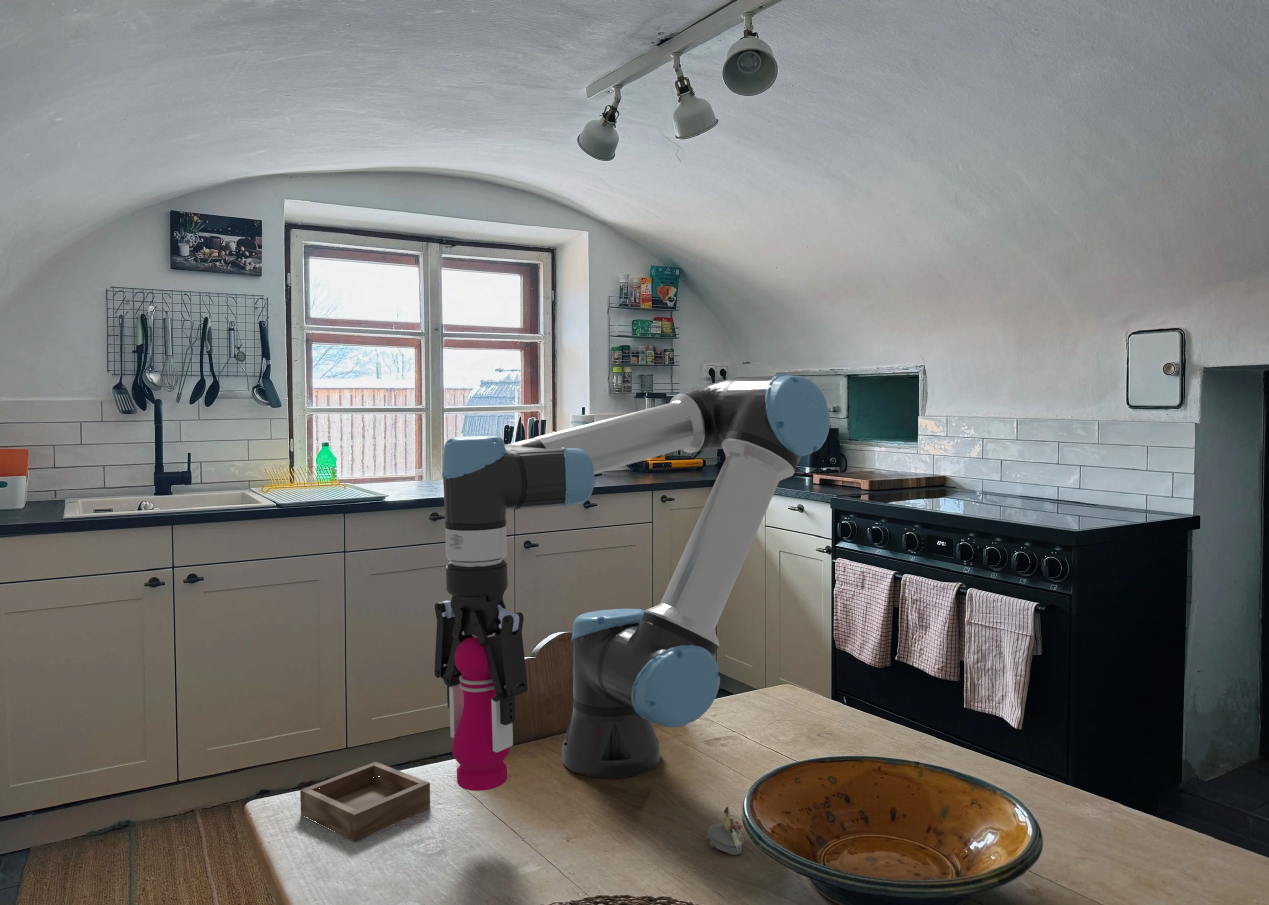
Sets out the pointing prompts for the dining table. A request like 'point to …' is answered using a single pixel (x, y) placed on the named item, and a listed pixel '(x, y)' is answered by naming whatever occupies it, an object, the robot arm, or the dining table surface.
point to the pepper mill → (476, 723)
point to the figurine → (726, 835)
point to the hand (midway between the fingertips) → (481, 741)
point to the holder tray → (365, 800)
